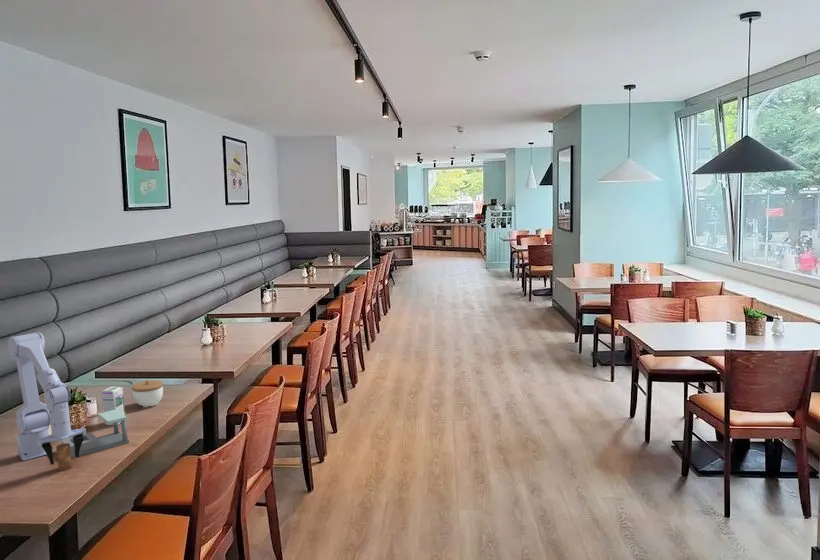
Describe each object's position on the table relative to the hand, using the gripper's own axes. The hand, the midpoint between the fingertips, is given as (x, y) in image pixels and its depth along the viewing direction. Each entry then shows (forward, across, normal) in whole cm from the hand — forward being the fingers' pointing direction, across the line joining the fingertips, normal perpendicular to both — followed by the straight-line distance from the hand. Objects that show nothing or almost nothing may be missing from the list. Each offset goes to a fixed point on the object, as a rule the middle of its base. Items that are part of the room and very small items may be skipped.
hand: (64, 460), depth 211 cm
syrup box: (+3, +26, +33) cm, 42 cm away
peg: (+3, 0, 0) cm, 3 cm away
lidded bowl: (+3, +44, +46) cm, 64 cm away
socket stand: (+3, +12, +13) cm, 18 cm away
